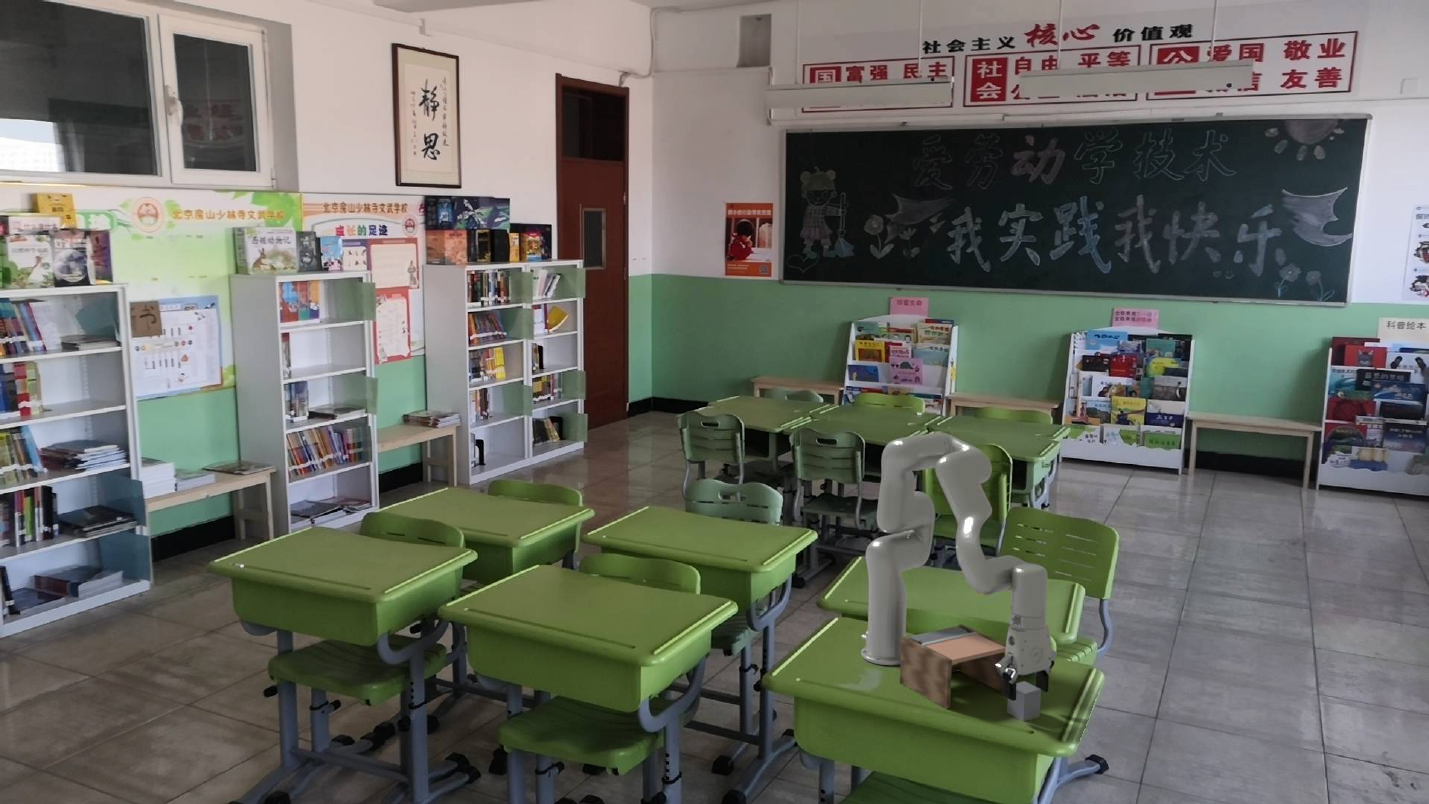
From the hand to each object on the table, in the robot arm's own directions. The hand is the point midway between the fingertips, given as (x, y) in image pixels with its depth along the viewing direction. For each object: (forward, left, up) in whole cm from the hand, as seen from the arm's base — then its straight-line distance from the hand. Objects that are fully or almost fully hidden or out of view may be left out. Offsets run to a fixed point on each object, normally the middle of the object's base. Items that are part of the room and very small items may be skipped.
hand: (1026, 694), depth 235 cm
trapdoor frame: (-19, -4, -5) cm, 20 cm away
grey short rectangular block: (0, 0, -2) cm, 2 cm away
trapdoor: (-19, -4, +3) cm, 19 cm away
